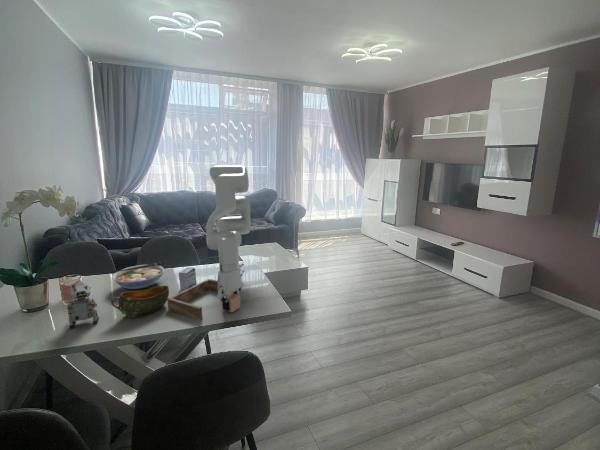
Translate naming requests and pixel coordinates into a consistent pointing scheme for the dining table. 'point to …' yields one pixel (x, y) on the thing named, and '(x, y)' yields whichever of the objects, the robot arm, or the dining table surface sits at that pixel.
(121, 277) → the ramen bowl
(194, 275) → the medicine box
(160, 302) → the cup
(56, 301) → the dining table surface
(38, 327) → the dining table surface
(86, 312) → the figurine
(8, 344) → the dining table surface
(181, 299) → the wooden open frame
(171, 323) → the dining table surface
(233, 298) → the terracotta block
